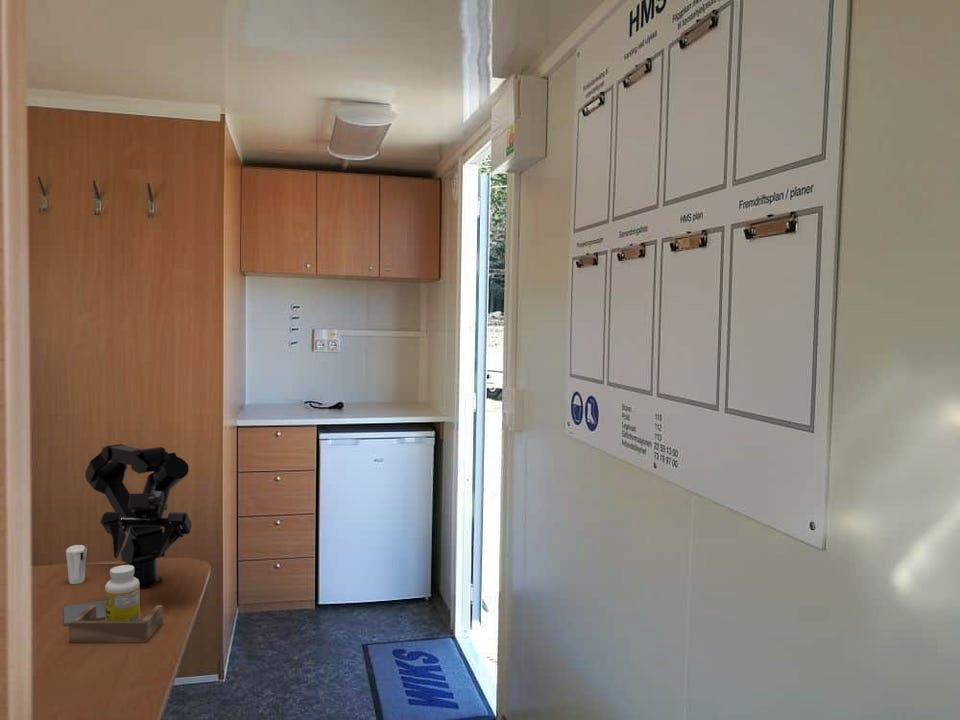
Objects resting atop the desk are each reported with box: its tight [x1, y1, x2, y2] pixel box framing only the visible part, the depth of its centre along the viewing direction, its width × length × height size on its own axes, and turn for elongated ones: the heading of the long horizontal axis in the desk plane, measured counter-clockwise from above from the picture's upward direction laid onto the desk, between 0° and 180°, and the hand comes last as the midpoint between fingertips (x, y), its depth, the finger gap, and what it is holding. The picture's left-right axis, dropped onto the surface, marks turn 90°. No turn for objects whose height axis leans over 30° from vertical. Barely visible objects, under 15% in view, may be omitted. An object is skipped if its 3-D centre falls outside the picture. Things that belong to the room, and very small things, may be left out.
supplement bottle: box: [104, 564, 141, 621], centre depth 156 cm, size 7×7×13 cm
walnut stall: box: [68, 604, 164, 643], centre depth 154 cm, size 9×15×4 cm, turn 93°
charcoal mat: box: [63, 599, 105, 627], centre depth 163 cm, size 10×10×1 cm
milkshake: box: [65, 542, 89, 585], centre depth 181 cm, size 4×5×10 cm
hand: (136, 557), depth 163 cm, fingers open, 9 cm apart
